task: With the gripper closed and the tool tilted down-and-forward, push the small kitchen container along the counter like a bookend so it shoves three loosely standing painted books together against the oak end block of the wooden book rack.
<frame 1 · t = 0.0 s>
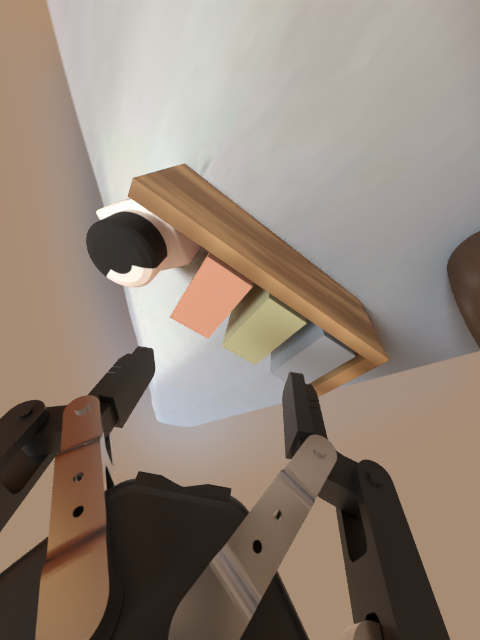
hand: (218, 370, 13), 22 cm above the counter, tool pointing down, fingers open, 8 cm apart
wooden book rack: (280, 245, 30), on the counter
container: (170, 219, 30), on the counter
book c: (227, 256, 32), on the counter
book b: (265, 282, 34), on the counter
book a: (301, 307, 36), on the counter
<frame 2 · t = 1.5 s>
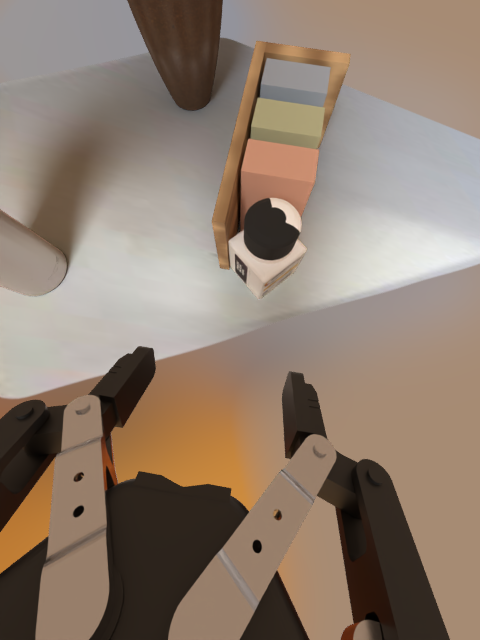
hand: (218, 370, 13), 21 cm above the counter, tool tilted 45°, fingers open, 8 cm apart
wooden book rack: (241, 193, 40), on the counter
container: (261, 270, 37), on the counter
book c: (268, 223, 39), on the counter
plant pot: (193, 97, 46), on the counter
book b: (274, 189, 41), on the counter
book a: (280, 157, 42), on the counter
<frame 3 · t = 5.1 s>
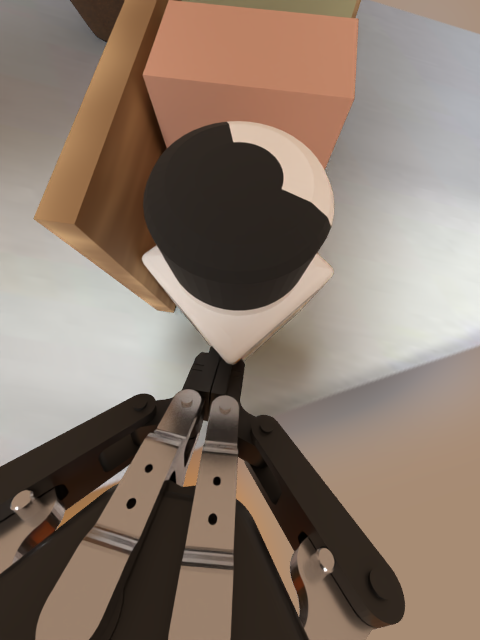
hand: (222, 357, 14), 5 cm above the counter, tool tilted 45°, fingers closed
wooden book rack: (198, 172, 23), on the counter
container: (236, 308, 20), on the counter
book c: (246, 222, 22), on the counter
plant pot: (123, 25, 28), on the counter
book b: (256, 163, 23), on the counter
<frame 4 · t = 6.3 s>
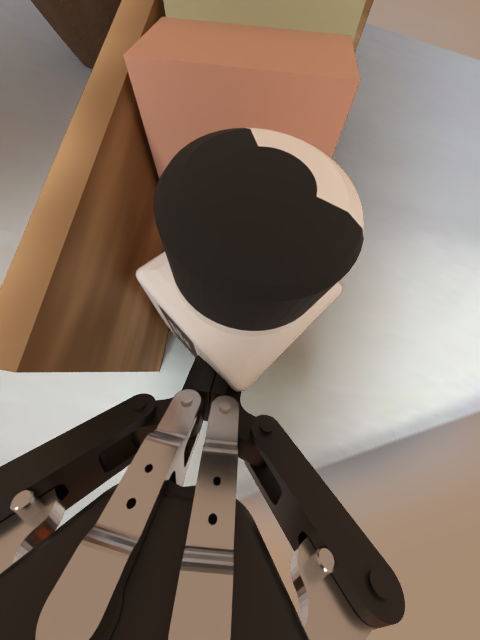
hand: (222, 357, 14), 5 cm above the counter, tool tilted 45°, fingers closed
wooden book rack: (187, 213, 22), on the counter
container: (231, 327, 18), point 1 cm above the counter, touching book c, gripper
book c: (239, 248, 20), point 1 cm above the counter, tilted 13°, touching book b, container
plant pot: (111, 51, 27), on the counter
book b: (249, 200, 21), on the counter, tilted 12°, touching book a, book c
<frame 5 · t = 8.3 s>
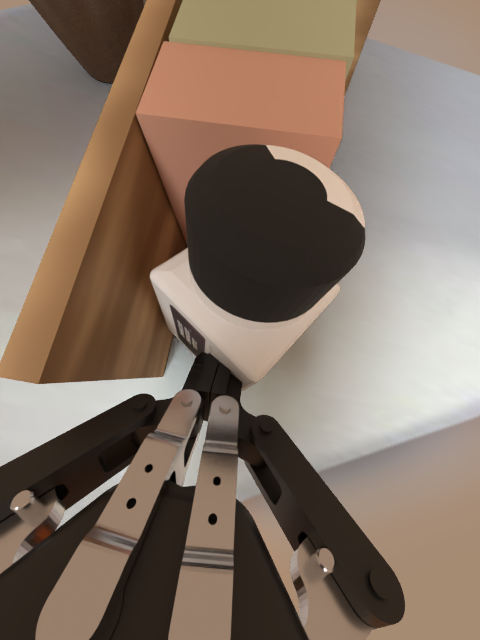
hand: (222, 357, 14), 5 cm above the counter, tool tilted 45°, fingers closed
wooden book rack: (191, 223, 22), on the counter
container: (232, 330, 19), point 1 cm above the counter, touching book c, gripper
book c: (242, 242, 22), on the counter, touching book b, container
plant pot: (118, 64, 28), on the counter
book b: (252, 199, 23), on the counter, touching book c
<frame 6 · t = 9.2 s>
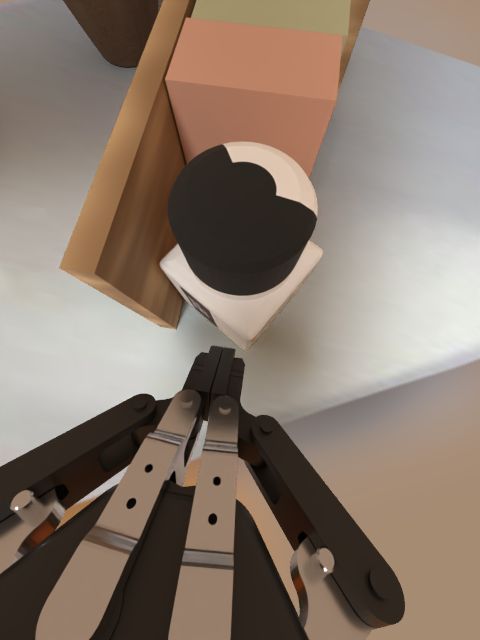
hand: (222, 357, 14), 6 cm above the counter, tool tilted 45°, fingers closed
wooden book rack: (201, 194, 24), on the counter
container: (241, 297, 22), on the counter
book c: (248, 211, 24), on the counter, touching book b
plant pot: (131, 49, 30), on the counter
book b: (257, 174, 25), on the counter, touching book c
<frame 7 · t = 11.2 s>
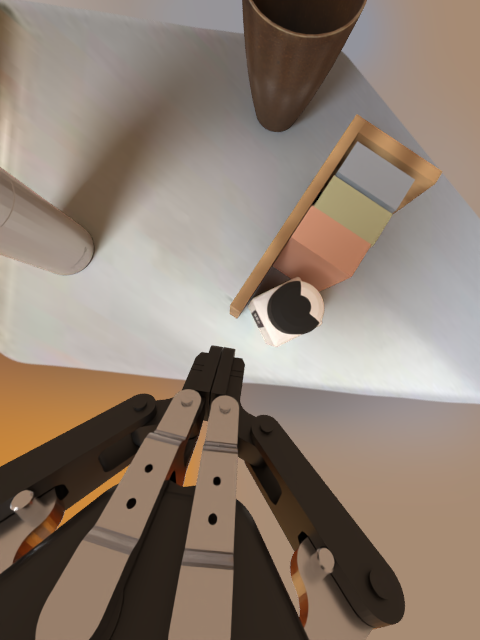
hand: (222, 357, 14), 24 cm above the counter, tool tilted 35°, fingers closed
wooden book rack: (279, 246, 40), on the counter
container: (275, 315, 39), on the counter
book c: (300, 268, 40), on the counter
plant pot: (276, 114, 42), on the counter
book b: (316, 246, 40), on the counter
book a: (333, 222, 41), on the counter
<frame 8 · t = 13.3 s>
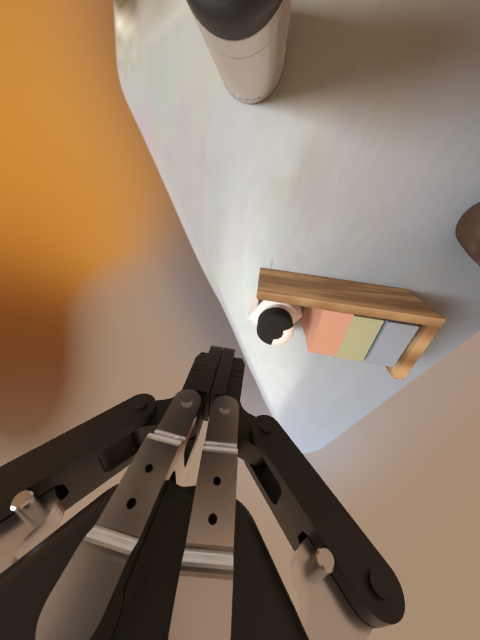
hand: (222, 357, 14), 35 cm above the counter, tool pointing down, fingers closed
wooden book rack: (331, 281, 46), on the counter
container: (274, 299, 50), on the counter
book c: (317, 303, 49), on the counter
book b: (339, 307, 49), on the counter
book a: (365, 312, 49), on the counter
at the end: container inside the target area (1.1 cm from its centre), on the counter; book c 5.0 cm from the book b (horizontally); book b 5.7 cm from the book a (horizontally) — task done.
